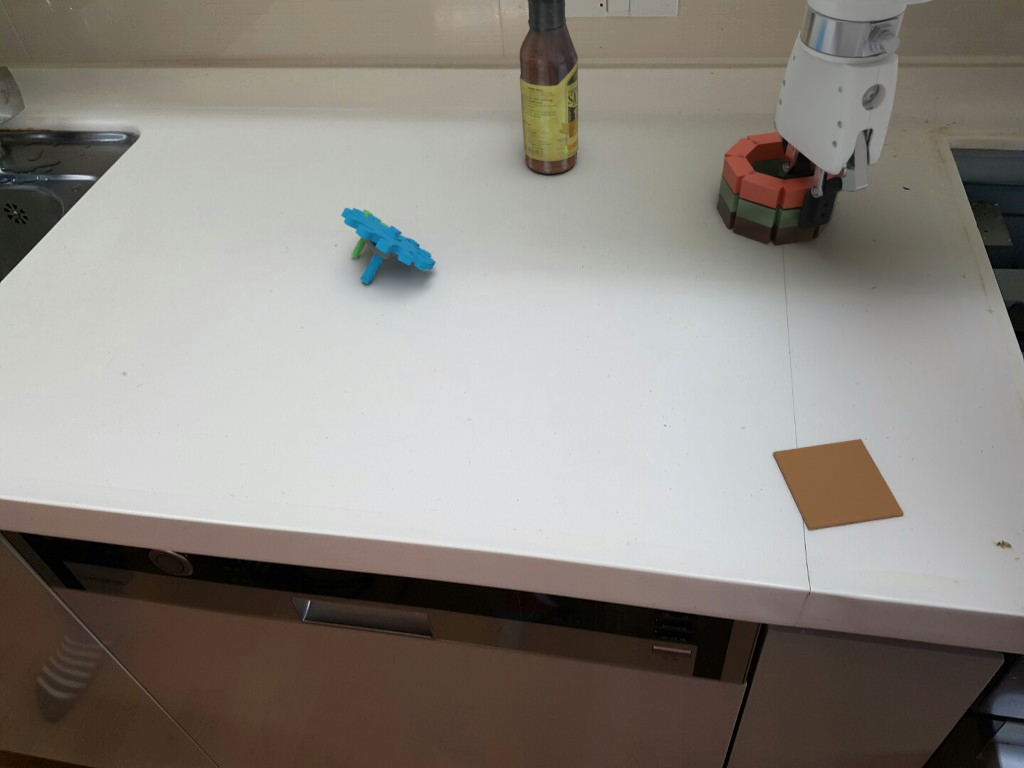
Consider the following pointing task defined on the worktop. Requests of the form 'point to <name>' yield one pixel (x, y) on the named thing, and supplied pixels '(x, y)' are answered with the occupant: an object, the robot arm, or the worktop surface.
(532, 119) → the sauce bottle
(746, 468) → the worktop surface
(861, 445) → the cork mat
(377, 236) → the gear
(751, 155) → the terracotta ring
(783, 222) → the ring stack
